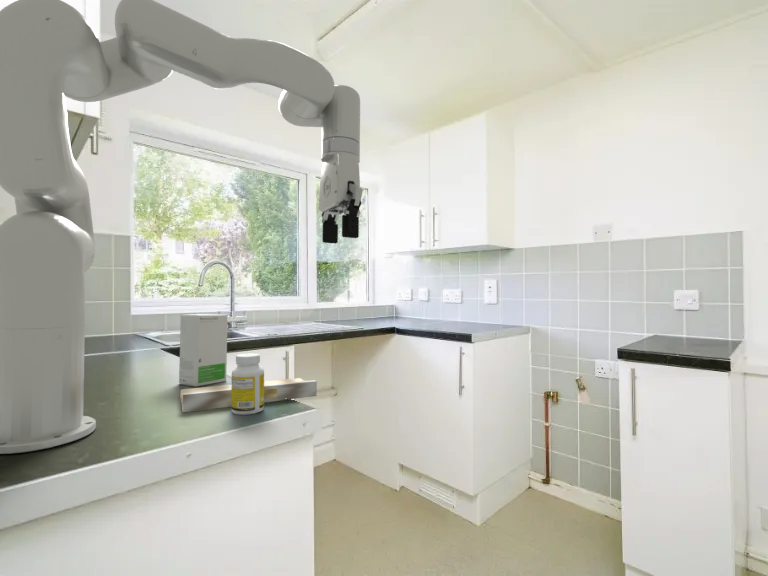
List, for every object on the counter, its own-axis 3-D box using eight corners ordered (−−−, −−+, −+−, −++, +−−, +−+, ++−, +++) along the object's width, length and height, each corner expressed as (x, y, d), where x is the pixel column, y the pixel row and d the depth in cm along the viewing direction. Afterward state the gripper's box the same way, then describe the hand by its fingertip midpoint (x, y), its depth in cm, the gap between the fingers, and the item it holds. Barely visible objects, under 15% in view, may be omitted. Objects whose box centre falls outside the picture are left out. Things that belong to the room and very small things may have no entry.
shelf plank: (182, 412, 68) (183, 395, 68) (180, 397, 78) (180, 381, 78) (317, 396, 79) (317, 381, 79) (300, 384, 89) (300, 371, 89)
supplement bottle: (252, 404, 73) (253, 351, 73) (270, 410, 70) (270, 354, 70) (225, 411, 69) (225, 354, 69) (242, 417, 66) (242, 358, 66)
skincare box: (195, 387, 85) (196, 315, 86) (176, 384, 89) (178, 314, 89) (228, 380, 93) (229, 313, 93) (209, 377, 96) (210, 312, 96)
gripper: (307, 162, 84) (306, 243, 84) (340, 134, 69) (339, 233, 69) (340, 168, 88) (339, 245, 87) (378, 143, 73) (377, 236, 72)
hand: (339, 240), depth 78 cm, fingers open, 9 cm apart
